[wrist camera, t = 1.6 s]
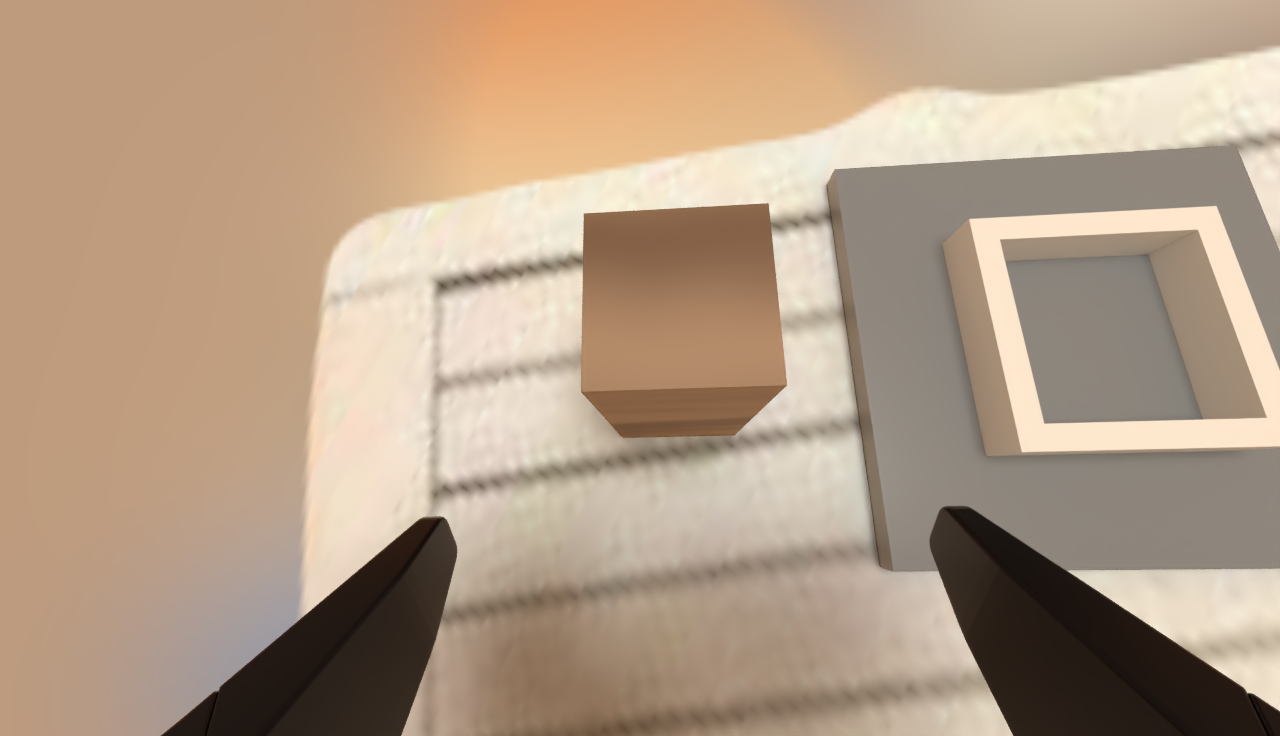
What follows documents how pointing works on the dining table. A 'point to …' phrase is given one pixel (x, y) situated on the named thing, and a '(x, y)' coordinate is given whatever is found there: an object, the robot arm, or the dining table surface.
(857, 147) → the dining table surface
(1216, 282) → the socket plate
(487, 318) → the dining table surface
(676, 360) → the walnut block
